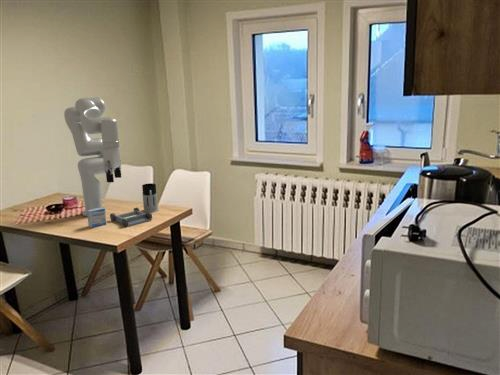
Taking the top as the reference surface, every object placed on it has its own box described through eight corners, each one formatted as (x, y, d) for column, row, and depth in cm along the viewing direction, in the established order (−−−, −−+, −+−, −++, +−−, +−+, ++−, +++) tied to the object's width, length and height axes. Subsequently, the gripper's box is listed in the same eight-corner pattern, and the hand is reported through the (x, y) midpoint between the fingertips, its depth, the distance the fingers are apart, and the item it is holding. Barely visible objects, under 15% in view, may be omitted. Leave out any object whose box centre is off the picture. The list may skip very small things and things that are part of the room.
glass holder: (157, 207, 246) (155, 182, 242) (160, 214, 233) (158, 188, 229) (142, 209, 243) (140, 184, 240) (144, 216, 230) (142, 189, 227)
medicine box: (91, 228, 213) (89, 211, 211) (88, 225, 216) (86, 209, 214) (106, 224, 218) (104, 208, 216) (103, 222, 221) (101, 206, 219)
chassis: (110, 220, 224) (109, 213, 223) (136, 213, 235) (135, 206, 234) (126, 227, 213) (125, 219, 212) (152, 220, 223) (151, 212, 222)
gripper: (110, 142, 209) (113, 175, 213) (95, 147, 192) (99, 184, 196) (125, 142, 208) (128, 175, 212) (111, 147, 191) (115, 184, 196)
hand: (114, 179), depth 204 cm, fingers open, 9 cm apart
